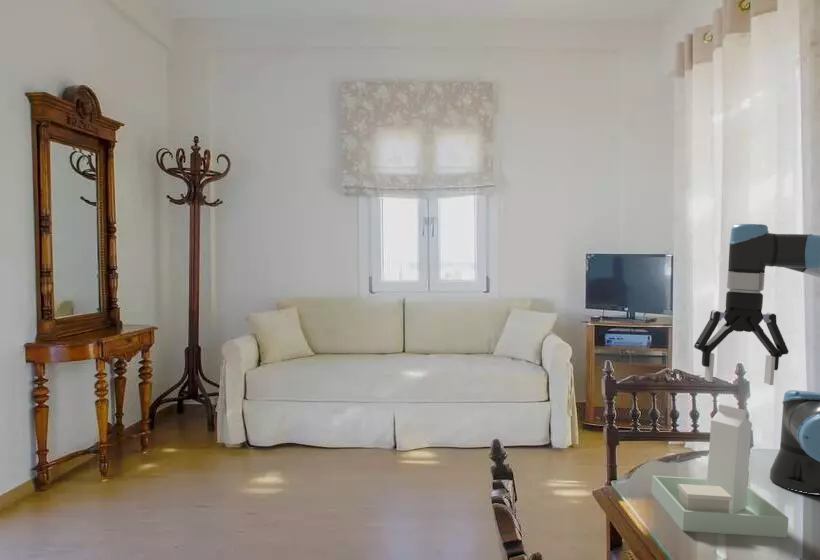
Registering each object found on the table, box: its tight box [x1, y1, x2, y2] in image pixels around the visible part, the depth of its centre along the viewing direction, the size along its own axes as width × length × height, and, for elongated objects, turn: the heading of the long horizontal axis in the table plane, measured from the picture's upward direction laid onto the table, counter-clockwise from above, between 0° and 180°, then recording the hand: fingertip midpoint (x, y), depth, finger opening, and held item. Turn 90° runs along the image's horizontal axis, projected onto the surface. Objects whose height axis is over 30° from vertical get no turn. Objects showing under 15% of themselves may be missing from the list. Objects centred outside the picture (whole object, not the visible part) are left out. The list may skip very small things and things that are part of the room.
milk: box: [706, 404, 753, 513], centre depth 139 cm, size 6×6×22 cm
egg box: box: [678, 484, 732, 513], centre depth 131 cm, size 9×6×7 cm, turn 86°
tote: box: [650, 474, 789, 539], centre depth 136 cm, size 20×20×4 cm
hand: (738, 382), depth 149 cm, fingers open, 13 cm apart
